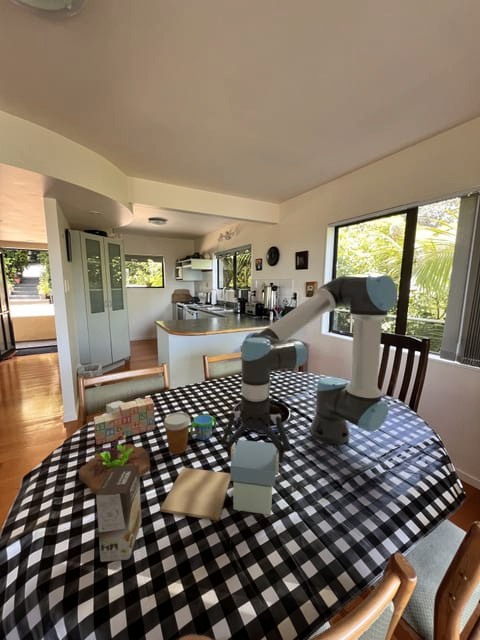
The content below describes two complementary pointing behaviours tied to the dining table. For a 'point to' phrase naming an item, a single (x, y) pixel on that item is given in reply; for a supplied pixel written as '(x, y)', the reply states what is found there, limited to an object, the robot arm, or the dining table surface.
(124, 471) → the coffee box
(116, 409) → the skincare box
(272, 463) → the lid
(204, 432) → the snack cup
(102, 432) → the stack of blocks
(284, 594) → the dining table surface
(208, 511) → the cork mat
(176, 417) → the disposable coffee cup
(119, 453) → the plant
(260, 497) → the storage box
